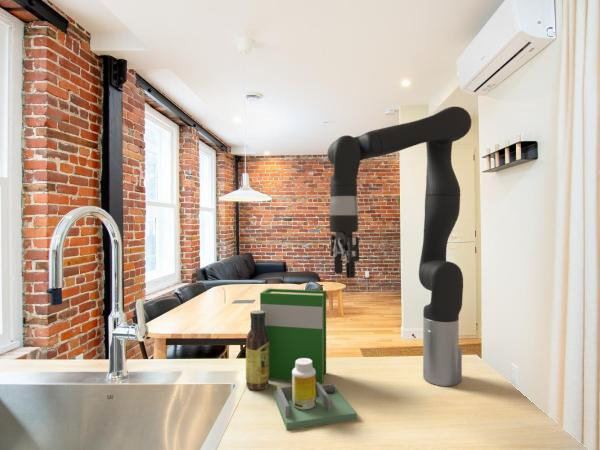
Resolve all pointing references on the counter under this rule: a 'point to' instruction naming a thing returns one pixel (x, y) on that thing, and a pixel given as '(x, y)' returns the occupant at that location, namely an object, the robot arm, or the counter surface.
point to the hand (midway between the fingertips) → (344, 275)
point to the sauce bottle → (257, 353)
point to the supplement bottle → (303, 384)
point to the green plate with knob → (314, 408)
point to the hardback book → (295, 330)
